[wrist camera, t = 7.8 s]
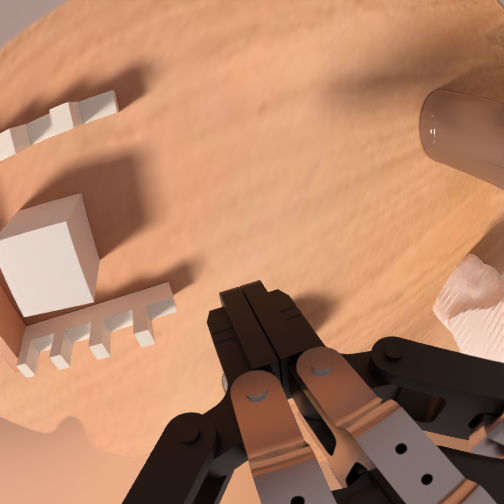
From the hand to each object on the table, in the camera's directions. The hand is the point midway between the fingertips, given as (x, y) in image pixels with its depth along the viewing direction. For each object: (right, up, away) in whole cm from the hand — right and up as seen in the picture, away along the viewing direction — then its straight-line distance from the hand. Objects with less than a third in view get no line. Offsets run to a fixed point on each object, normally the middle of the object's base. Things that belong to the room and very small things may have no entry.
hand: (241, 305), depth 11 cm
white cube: (-15, +3, +10) cm, 19 cm away
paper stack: (+41, -8, +40) cm, 58 cm away
